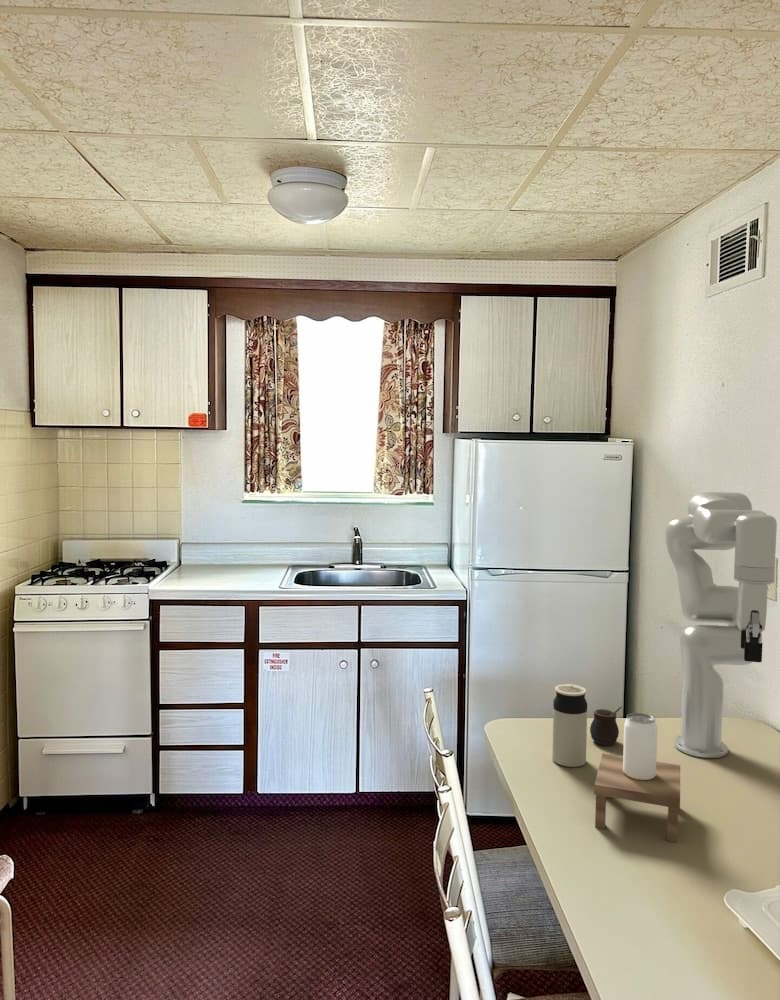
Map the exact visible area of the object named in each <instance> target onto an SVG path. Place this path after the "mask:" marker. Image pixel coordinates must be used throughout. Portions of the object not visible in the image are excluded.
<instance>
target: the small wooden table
mask: <svg viewBox="0 0 780 1000" xmlns="http://www.w3.org/2000/svg"><path fill="white" fill-rule="evenodd" d="M598 766H599V767H598V770H597V773H596V778H595V781H594V786H593V787H594V789H593V790H594V791H593V792H594V793H593V794H594V795H595V815H594V817H595V819H594V827H595V828H597V829H603V830H605V827H606V815H607V813H606V812H607V810H606V807H607V806H606V803H607V799H610V800H611V798H615V799H621V800H627V801H632V802H638V803H643V804H644V803H645V804H650V805H654V806H660V807H667V808H668V809H667V831H666V834H667V836H666V841H667V842H672V843H678V827H679V826H678V824H679V822H678V821H679V809H681V765H680V764H675V763H669V762H662V761H656V776H655V777H654V778H653V779H651V780H646V781H642V780H635V779H632V778H630V777H628V776H626V775H625V773H624V772H623V755H622V756H621V755H617V754H615V755H614V754H608V753H602V754H601V758H600V761H599V765H598Z"/></svg>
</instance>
